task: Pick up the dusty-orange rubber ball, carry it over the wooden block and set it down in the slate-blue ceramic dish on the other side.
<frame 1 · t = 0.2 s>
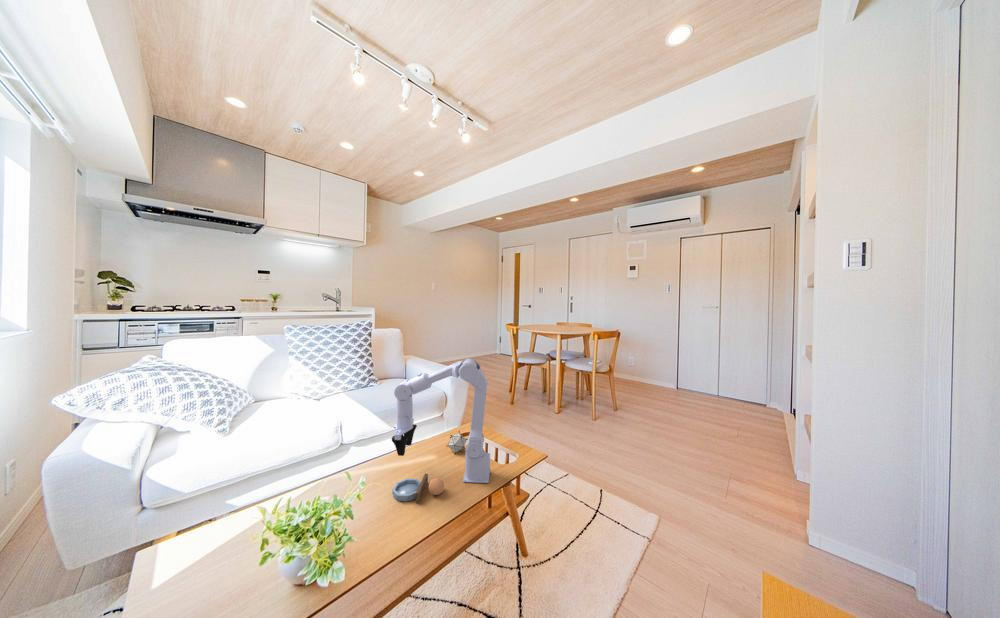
hand: (404, 449, 114), 10 cm above the table, fingers open, 7 cm apart
ball: (436, 493, 105), on the table
dish: (407, 492, 105), on the table
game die: (457, 452, 133), on the table
wooden block: (422, 492, 105), on the table
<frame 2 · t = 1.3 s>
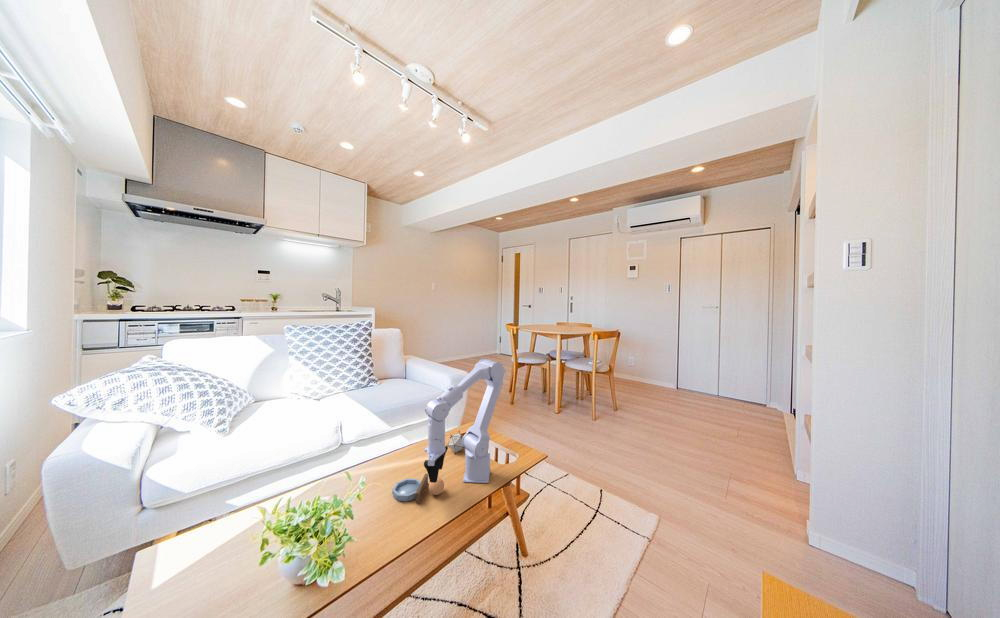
hand: (436, 475, 104), 6 cm above the table, fingers open, 7 cm apart
nothing on the table moved.
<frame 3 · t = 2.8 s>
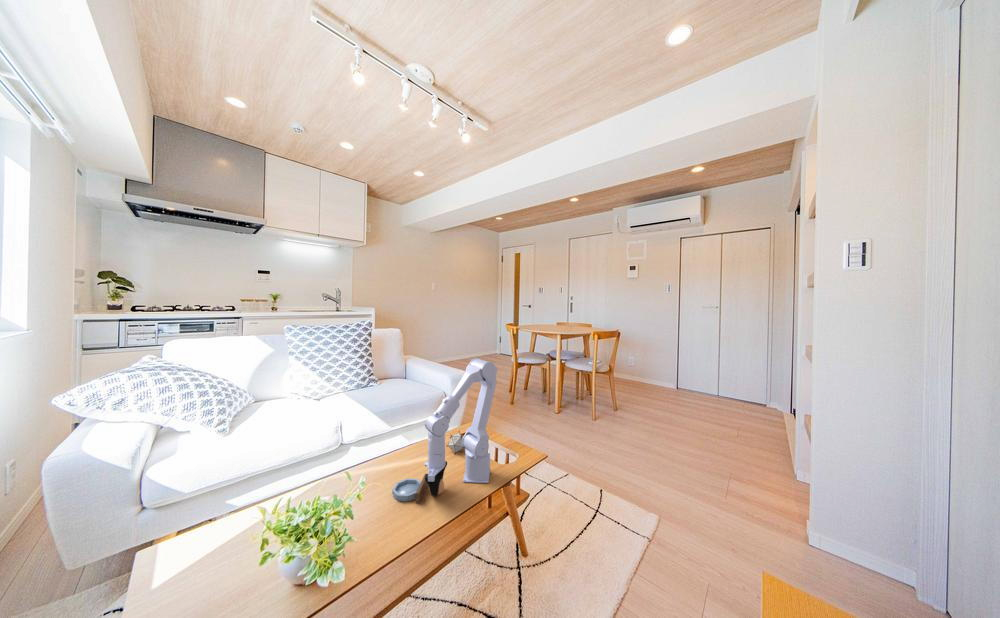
hand: (436, 489, 105), 1 cm above the table, fingers closed on ball, 5 cm apart
ball: (436, 493, 105), on the table, touching gripper
everything else where it was.
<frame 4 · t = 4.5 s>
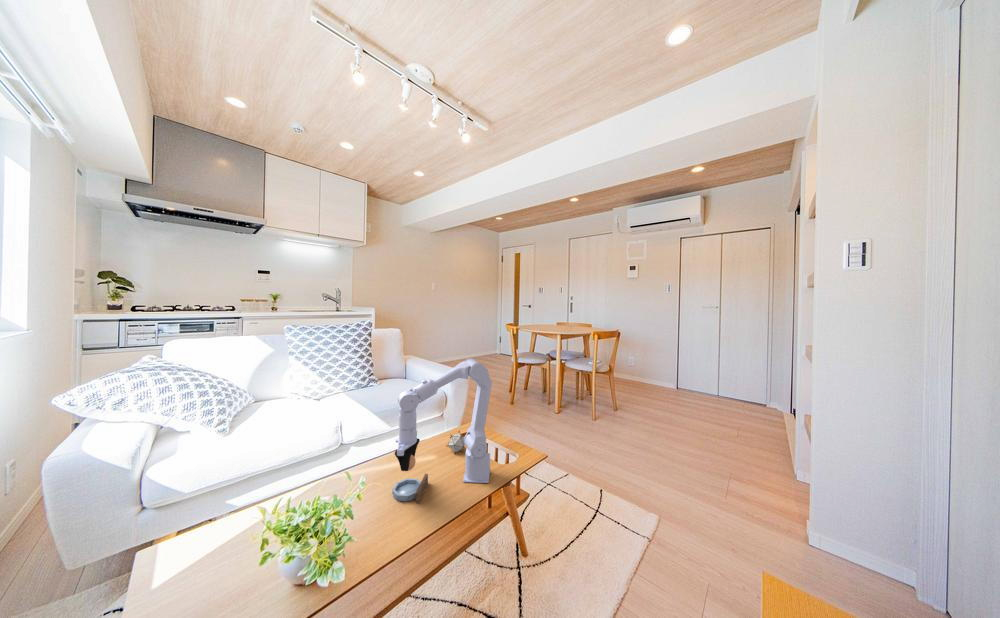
hand: (407, 465, 105), 9 cm above the table, fingers closed on ball, 5 cm apart
ball: (407, 469, 105), point 8 cm above the table, touching gripper
everything else where it was.
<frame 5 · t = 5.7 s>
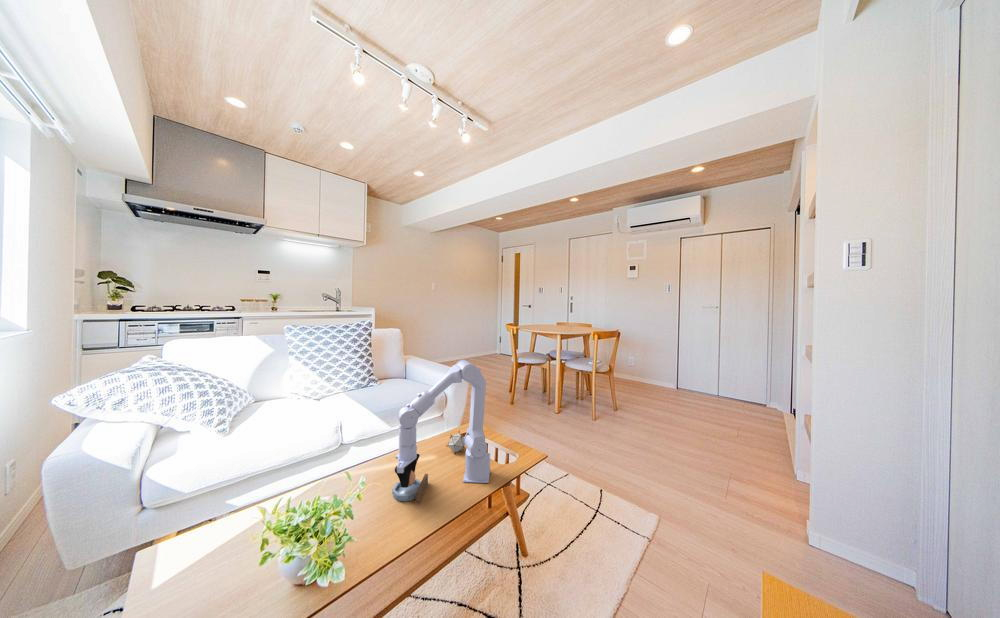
hand: (407, 481, 105), 4 cm above the table, fingers closed on ball, 5 cm apart
ball: (407, 485, 105), point 2 cm above the table, touching gripper
everything else where it was.
when the fingers open (4 cm above the table, at t = 6.5 s): ball drops 2 cm, resting on dish.
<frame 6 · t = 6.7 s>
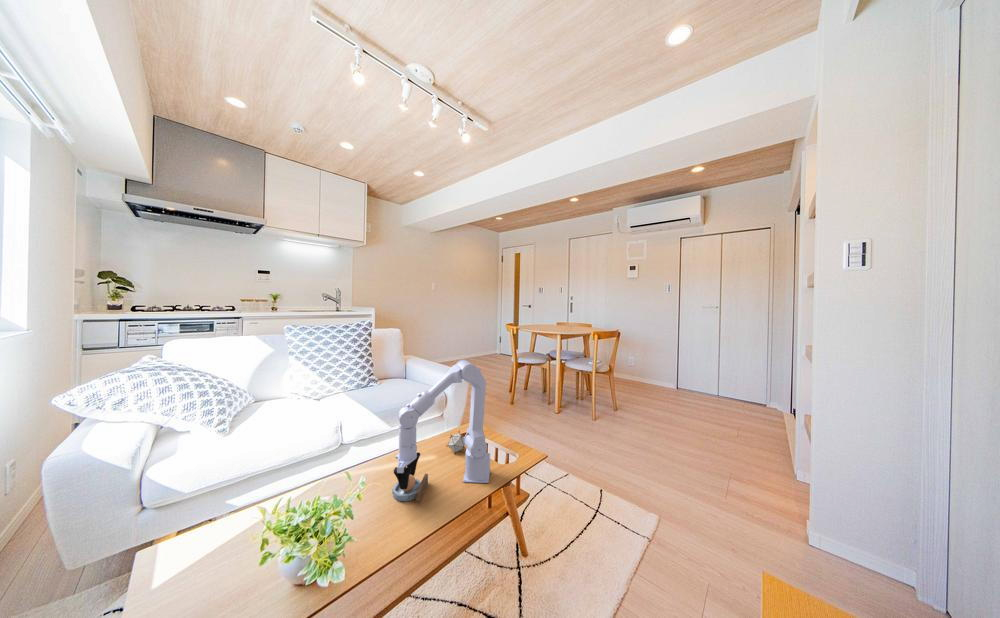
hand: (407, 481, 105), 4 cm above the table, fingers open, 7 cm apart
ball: (407, 490, 105), point 1 cm above the table, touching dish
everything else where it was.
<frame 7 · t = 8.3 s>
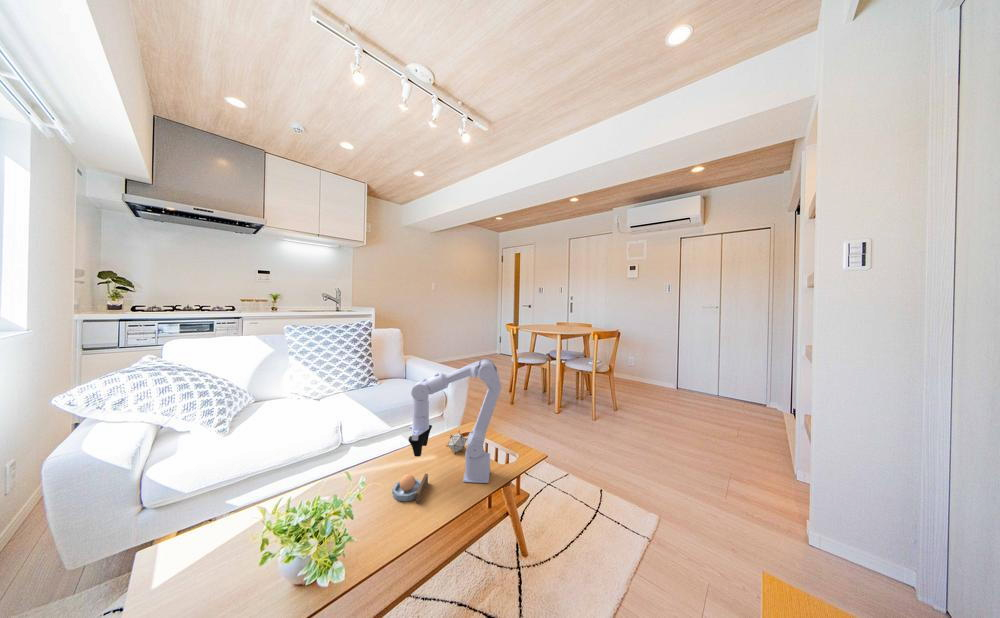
hand: (420, 450, 113), 10 cm above the table, fingers open, 7 cm apart
nothing on the table moved.
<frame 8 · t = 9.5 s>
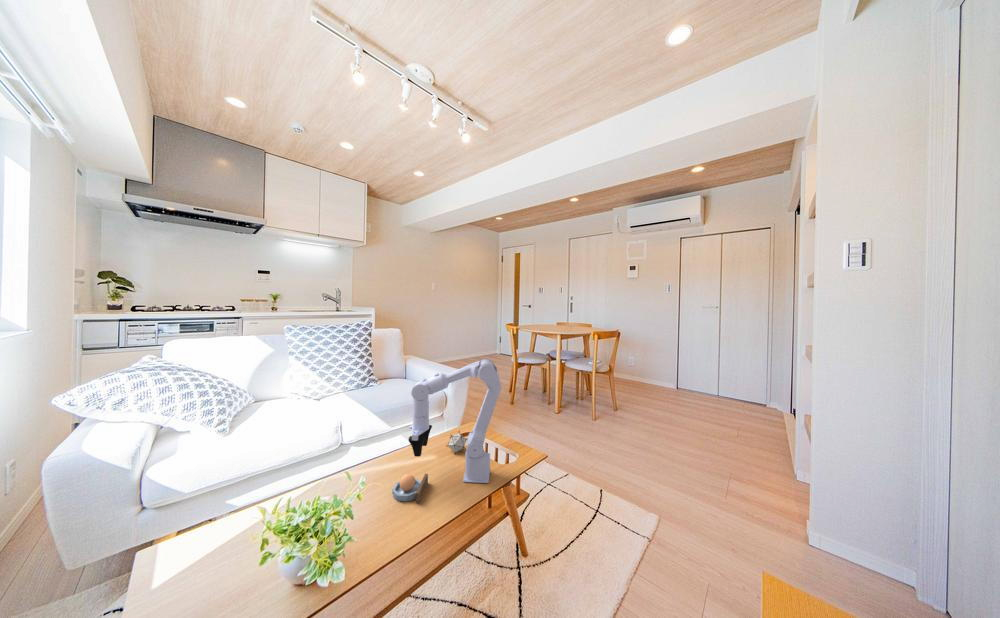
hand: (420, 450, 113), 10 cm above the table, fingers open, 7 cm apart
nothing on the table moved.
at the end: ball 0.0 cm off-centre on the dish, point 0.8 cm above the dish's base; the gripper is holding nothing; ball inside the target area (1.8 cm from its centre), point 0.8 cm above the table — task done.
